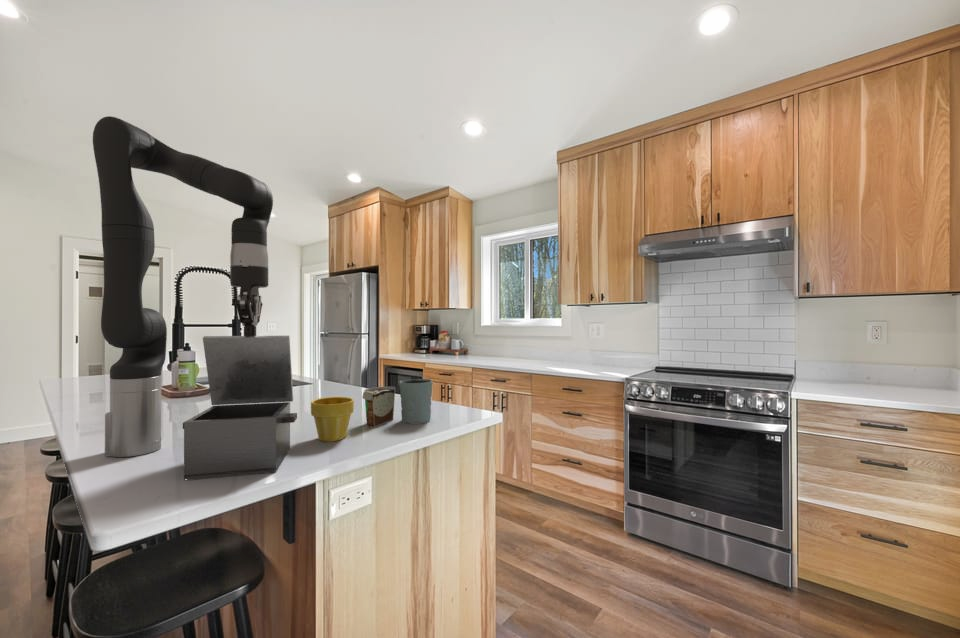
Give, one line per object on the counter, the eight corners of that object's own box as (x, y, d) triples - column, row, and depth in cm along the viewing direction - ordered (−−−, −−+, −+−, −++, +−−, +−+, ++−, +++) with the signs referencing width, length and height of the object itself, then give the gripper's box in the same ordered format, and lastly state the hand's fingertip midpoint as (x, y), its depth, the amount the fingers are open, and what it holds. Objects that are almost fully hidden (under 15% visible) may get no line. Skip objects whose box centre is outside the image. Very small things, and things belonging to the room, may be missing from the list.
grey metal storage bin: (169, 481, 79) (169, 422, 79) (201, 455, 95) (201, 406, 95) (289, 471, 85) (289, 416, 85) (300, 447, 100) (301, 401, 100)
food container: (379, 417, 132) (379, 385, 132) (396, 419, 129) (396, 386, 129) (353, 426, 120) (353, 391, 120) (371, 428, 118) (371, 393, 118)
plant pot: (345, 444, 103) (345, 404, 103) (303, 443, 103) (303, 404, 103) (358, 432, 114) (358, 396, 114) (320, 432, 114) (320, 396, 114)
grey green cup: (405, 425, 121) (405, 384, 121) (394, 418, 130) (394, 379, 130) (438, 421, 126) (438, 381, 126) (425, 415, 135) (425, 377, 135)
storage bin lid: (202, 337, 90) (206, 333, 92) (211, 405, 96) (215, 399, 98) (288, 337, 95) (290, 333, 97) (292, 401, 100) (294, 396, 102)
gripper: (239, 268, 100) (239, 341, 100) (221, 261, 88) (221, 344, 88) (274, 269, 102) (274, 340, 102) (261, 262, 89) (261, 344, 90)
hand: (250, 342), depth 95 cm, fingers closed
